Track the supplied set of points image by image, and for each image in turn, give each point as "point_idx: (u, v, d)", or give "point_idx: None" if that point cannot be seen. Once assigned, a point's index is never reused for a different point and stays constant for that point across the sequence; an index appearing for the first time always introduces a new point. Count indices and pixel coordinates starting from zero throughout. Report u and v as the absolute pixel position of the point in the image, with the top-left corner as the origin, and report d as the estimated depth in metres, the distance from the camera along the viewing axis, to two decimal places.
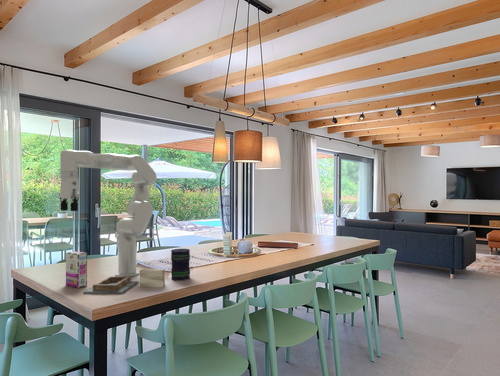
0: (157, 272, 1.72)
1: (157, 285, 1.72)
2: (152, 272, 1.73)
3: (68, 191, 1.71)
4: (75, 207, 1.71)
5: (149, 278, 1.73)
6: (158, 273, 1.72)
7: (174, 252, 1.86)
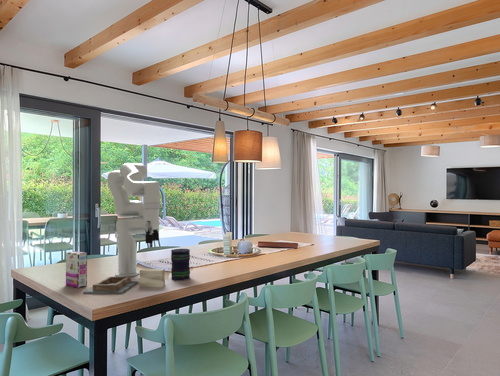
0: (157, 272, 1.72)
1: (157, 285, 1.72)
2: (152, 272, 1.73)
3: (158, 222, 1.79)
4: None
5: (149, 278, 1.73)
6: (158, 273, 1.72)
7: (174, 252, 1.86)
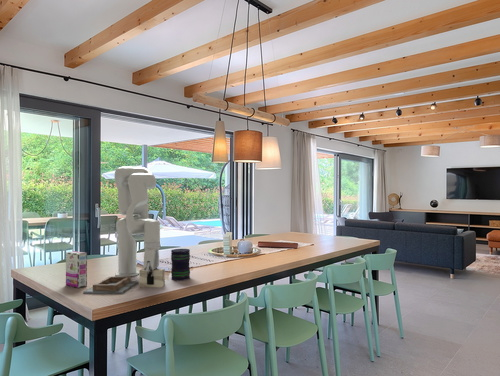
0: (156, 272, 1.72)
1: (157, 285, 1.72)
2: None
3: (158, 260, 1.79)
4: None
5: None
6: (158, 272, 1.72)
7: (174, 252, 1.86)
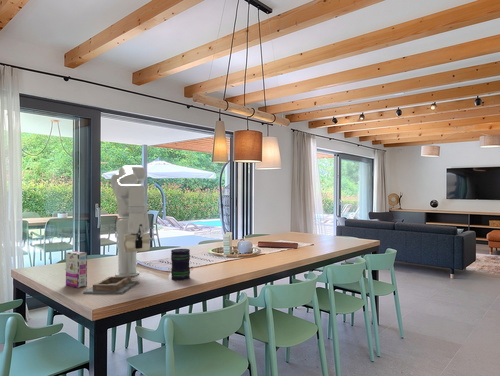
0: (144, 235, 1.74)
1: (145, 248, 1.74)
2: None
3: None
4: None
5: None
6: (146, 236, 1.75)
7: (174, 252, 1.86)
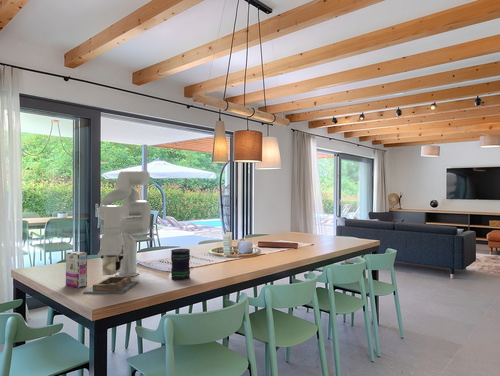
0: None
1: (119, 269, 1.75)
2: None
3: None
4: None
5: None
6: None
7: (174, 252, 1.86)
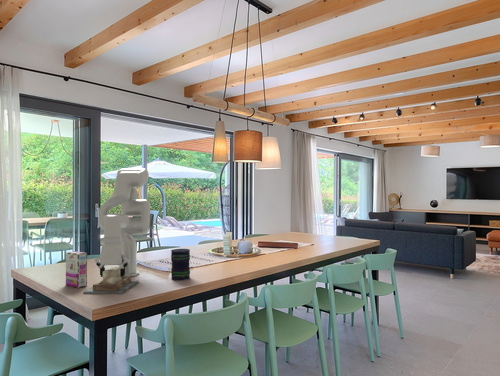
0: (119, 269, 1.75)
1: None
2: (117, 270, 1.73)
3: None
4: None
5: (116, 276, 1.71)
6: None
7: (174, 252, 1.86)
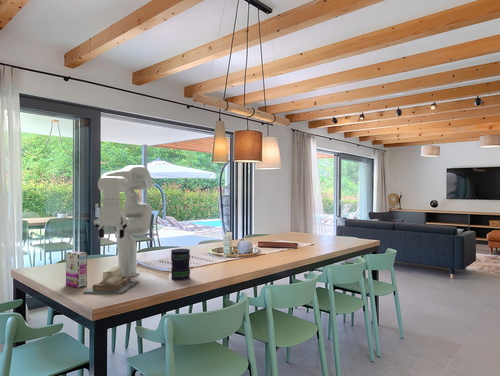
0: (119, 269, 1.75)
1: None
2: (117, 270, 1.73)
3: None
4: None
5: (116, 276, 1.71)
6: (120, 269, 1.76)
7: (174, 252, 1.86)
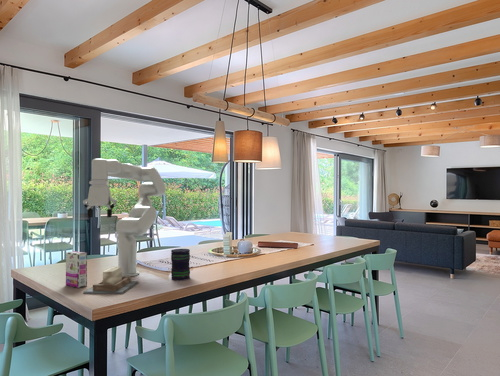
0: (119, 269, 1.75)
1: None
2: (117, 270, 1.73)
3: None
4: None
5: (116, 276, 1.71)
6: (120, 269, 1.76)
7: (174, 252, 1.86)
